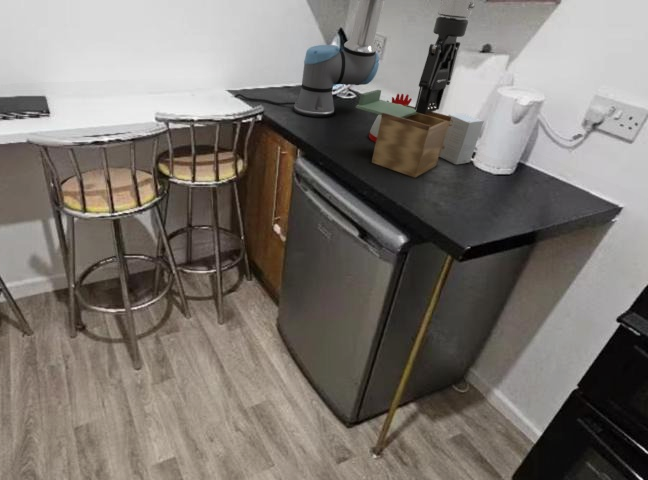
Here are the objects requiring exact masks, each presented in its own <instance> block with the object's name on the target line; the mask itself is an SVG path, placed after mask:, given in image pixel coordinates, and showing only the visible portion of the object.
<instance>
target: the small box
mask: <svg viewBox="0 0 648 480" xmlns="http://www.w3.org/2000/svg"><path fill="white" fill-rule="evenodd" d="M448 116H451V120H450V123H449V126H448V129H447V132H446V135H445V139H444V142H443V145H442V148H441V152H440V155H439V158H441V159H443V160H445V161H447V162H450V163H452V164H454V166H455V165H456V166H457V165H462V164H468V163H469V164H470V163H471V161H472V157H473V155H474V152H475V148H476V145H477V143H478V140H479V137H480V134H481V131H482V128H483V124H484V122H485V120H482V119H480V118H477V117H474V116H472V115H469V114H466V113H450V114H448Z"/></svg>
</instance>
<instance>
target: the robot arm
mask: <svg viewBox="0 0 648 480" xmlns="http://www.w3.org/2000/svg"><path fill="white" fill-rule="evenodd" d="M474 3H475V0H440V3H439V7H438V11H437V14H438V15H439V16H437V18H436V20H435V23H434V27H433V33H434V34H435V35H438V36H437V39H436V41H435V44H434V43H431V44H429V47H428V53H427V57H426V60H425V63H424V66H423V70H422V73H421V76H420V78H419V83H418V87H419V88H420V87H422V90H421V94H420V98H419V101H418V105H417V109H416V112H417V113H421V114H426V113H427V110H428V106H429V102H430V99H431V95H432V91H433V89H431V88H432V86H433V84H434V81H435V79H436V76H437V74H438V72H439V69H440V67H443V68H446V69H448V70H449V76H448V81H447V84H446V86H449V85H450V84H451V79H452V77H453V72H454V67H455V63H456V59H457V55H458V52H459V49H460V46H461V42H460V41H457V39H458V38H461V37H462V38H463V37H464V36H465V34H466V31H467V28H468V24H469V20H468V19H467V18H470V16H471V14H472V9H474V8H475V4H474ZM384 4H385V0H358V1H357V5H356V10H355V14H354V17H353V23H352V28H351V31H350V36H349V39H348V40H347V41H345V43H344V44H343V49H341V50H340V47H339V46H338V45H335V44H318V45H313V46H311V47H309V48H308V49H307V50H306V52H305V56H304V60H303V71H302V80H301V87H300V91H299V94H298V96H297V98H296V99H295V102H294V101H291V102H289V101H288V102H278V101H273V100H269V99H264V98H255V97H254V98H252V97H248V96H245V95H243V94H242V93H236V94H235V95H234V96H233V97H234V98H237V97H241V98H243V99H245V100H247V101H253V102H265V103H270V104H273V105H277V106H278V105H279V106H285V105H293V111H294V112H296V114H299V115H302V116H306V117H309V118H310V117H311V118H328V117H332V116H333V115H334V113H335V105H334V98H333V97H334V96H333V89H334V85H351V86H363V85H368V84H369V83H371V82H372V81H373V80H374V78H375V77H376V75H377V73H378V70H379V66H380V64H379V62H380V56H379V53H378V52H377V47H376V46H375V44H374V43H375V39H376V36H377V31H378V27H379V24H380V20H381V16H382V12H383V9H384ZM444 93H445V89H441V90H440V91H439V93H438V97H437V101H436V105H437V110H436V111H438V110H439V109H440V106H441V103H442V99H443V96H444Z"/></svg>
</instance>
